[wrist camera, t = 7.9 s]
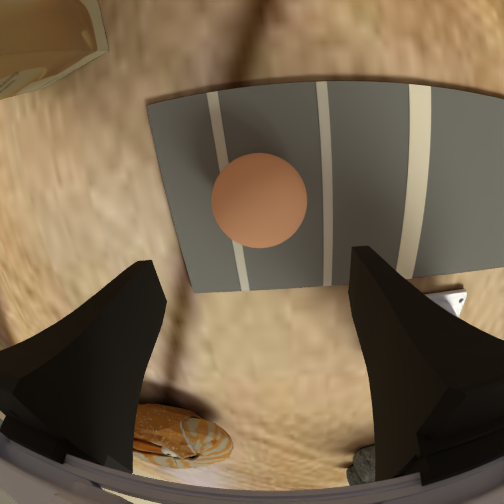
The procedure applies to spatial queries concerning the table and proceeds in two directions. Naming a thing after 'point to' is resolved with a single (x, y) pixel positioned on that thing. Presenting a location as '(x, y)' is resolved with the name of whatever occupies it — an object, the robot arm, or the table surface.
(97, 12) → the skincare box
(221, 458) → the nautilus
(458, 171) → the lane mat
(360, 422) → the table surface
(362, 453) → the koala plush
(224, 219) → the ball
